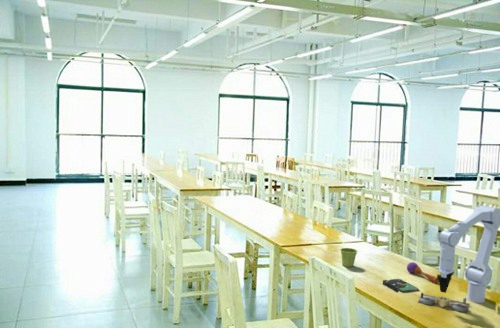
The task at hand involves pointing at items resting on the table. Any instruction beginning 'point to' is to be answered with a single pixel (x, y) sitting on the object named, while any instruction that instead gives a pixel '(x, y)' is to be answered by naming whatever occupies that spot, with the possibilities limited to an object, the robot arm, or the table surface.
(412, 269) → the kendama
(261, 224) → the table surface
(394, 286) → the disk drive
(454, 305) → the gear board
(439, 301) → the brass gear
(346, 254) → the plant pot
